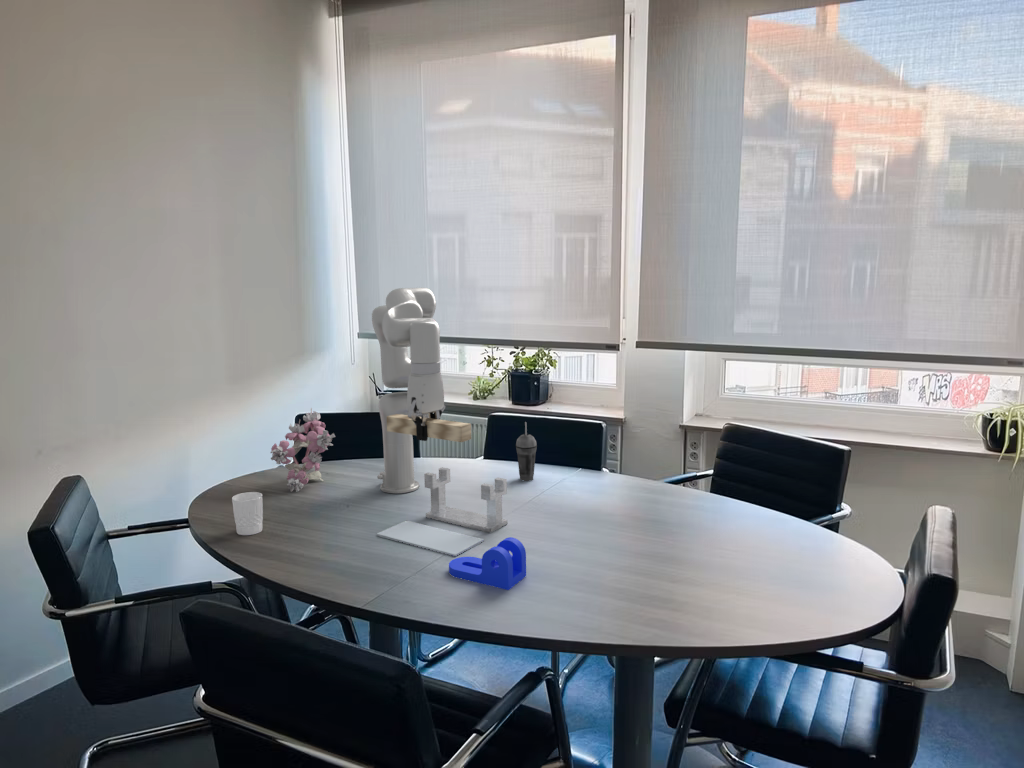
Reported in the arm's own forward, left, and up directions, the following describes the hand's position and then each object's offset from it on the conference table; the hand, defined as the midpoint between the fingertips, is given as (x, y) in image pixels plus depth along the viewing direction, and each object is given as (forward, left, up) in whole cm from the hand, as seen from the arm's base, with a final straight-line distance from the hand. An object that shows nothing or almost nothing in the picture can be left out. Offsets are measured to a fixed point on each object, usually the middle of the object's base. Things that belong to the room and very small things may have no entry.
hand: (427, 437), depth 189 cm
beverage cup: (-7, +58, -28) cm, 65 cm away
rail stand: (0, +15, -27) cm, 31 cm away
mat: (0, -1, -27) cm, 27 cm away
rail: (0, 0, +1) cm, 1 cm away
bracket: (+26, -12, -28) cm, 40 cm away
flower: (-66, +13, -28) cm, 73 cm away
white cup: (-46, -23, -28) cm, 58 cm away
